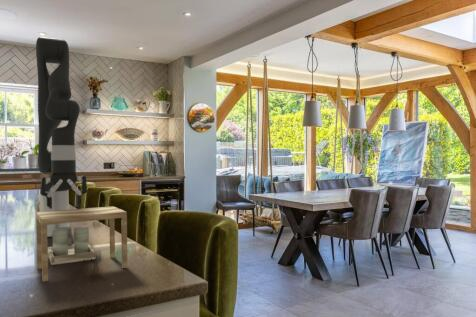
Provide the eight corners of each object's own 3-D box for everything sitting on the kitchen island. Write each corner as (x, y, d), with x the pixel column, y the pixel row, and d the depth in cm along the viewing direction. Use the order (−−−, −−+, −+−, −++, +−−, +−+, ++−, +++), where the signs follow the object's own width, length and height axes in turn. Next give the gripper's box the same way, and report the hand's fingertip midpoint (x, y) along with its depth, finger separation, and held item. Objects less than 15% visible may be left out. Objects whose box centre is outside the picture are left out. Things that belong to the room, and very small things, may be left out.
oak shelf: (36, 268, 110) (36, 212, 110) (113, 257, 122) (113, 206, 121) (42, 281, 99) (41, 219, 98) (127, 268, 110) (126, 211, 109)
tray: (45, 250, 133) (44, 223, 133) (83, 245, 139) (83, 219, 139) (51, 266, 114) (50, 234, 114) (95, 260, 120) (95, 230, 120)
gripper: (41, 159, 127) (42, 210, 127) (88, 158, 135) (88, 206, 135) (38, 159, 134) (39, 208, 134) (83, 158, 141) (84, 204, 141)
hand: (64, 207), depth 134 cm, fingers open, 8 cm apart
